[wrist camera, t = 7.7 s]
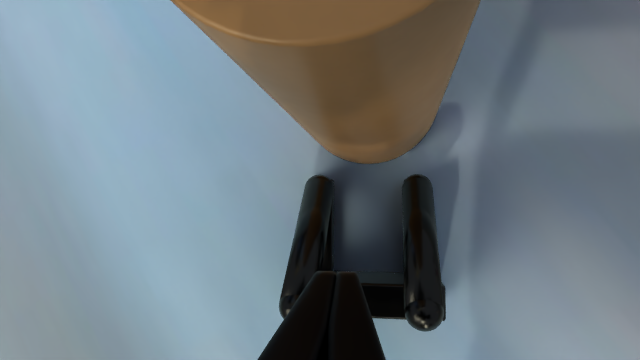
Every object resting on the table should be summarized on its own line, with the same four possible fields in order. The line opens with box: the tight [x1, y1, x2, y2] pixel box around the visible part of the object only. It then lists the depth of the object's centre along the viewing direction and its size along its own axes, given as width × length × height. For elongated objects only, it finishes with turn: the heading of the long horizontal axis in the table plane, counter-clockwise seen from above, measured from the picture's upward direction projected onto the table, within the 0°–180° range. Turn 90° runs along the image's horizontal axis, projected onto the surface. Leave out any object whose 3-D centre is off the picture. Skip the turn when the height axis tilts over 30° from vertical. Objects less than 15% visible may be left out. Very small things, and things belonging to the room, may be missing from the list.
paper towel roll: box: [171, 0, 481, 164], centre depth 13 cm, size 14×6×14 cm
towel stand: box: [279, 174, 446, 332], centre depth 17 cm, size 5×6×6 cm
